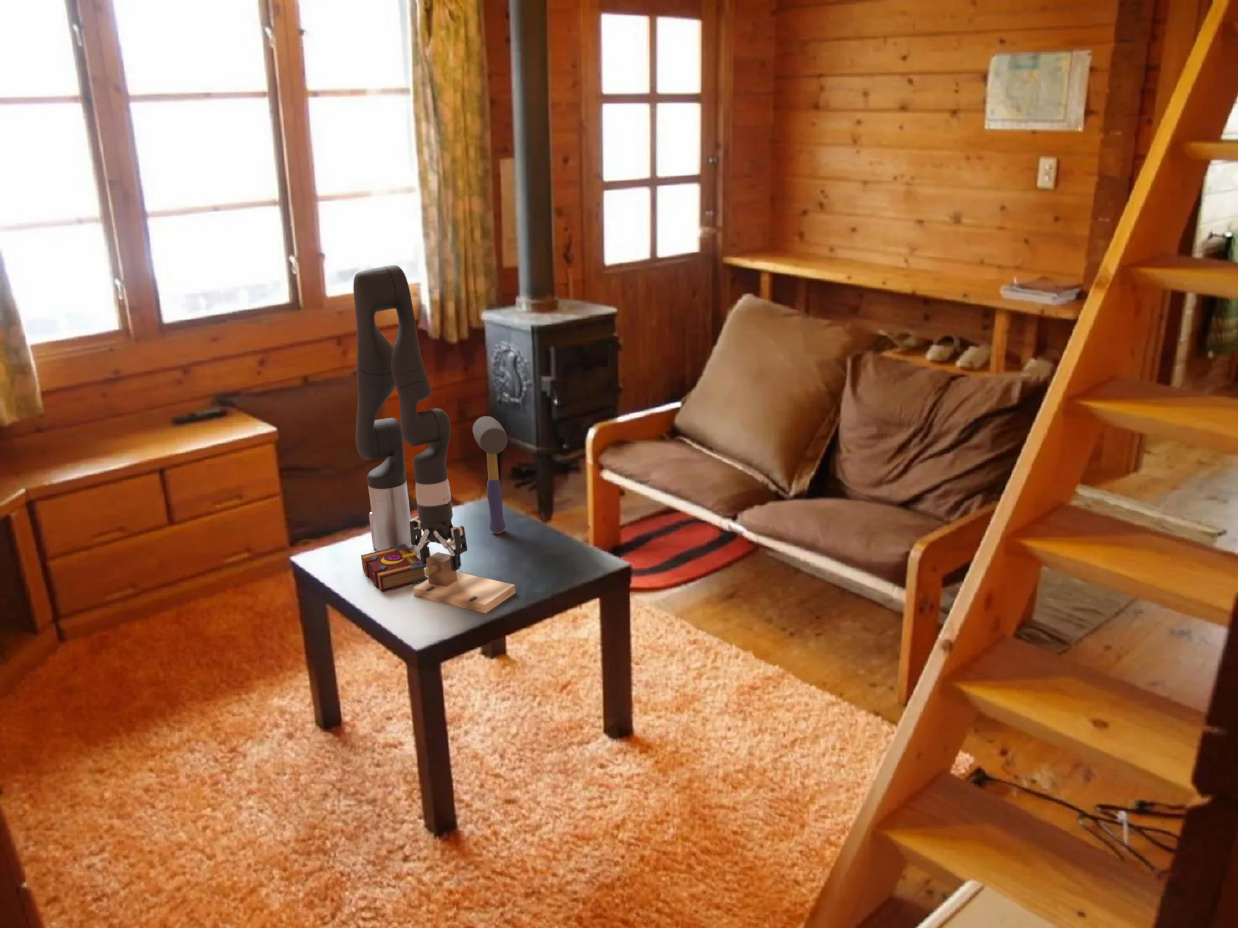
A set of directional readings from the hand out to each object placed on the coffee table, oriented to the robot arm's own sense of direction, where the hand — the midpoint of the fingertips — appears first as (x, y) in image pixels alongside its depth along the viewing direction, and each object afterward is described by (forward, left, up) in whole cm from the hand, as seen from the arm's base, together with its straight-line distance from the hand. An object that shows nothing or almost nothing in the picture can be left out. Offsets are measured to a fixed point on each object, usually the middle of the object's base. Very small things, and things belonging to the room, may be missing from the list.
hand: (441, 566), depth 235 cm
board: (+6, 0, -6) cm, 8 cm away
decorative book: (-16, +2, -6) cm, 17 cm away
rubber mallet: (-9, +33, -6) cm, 35 cm away
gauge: (0, 0, -4) cm, 4 cm away
